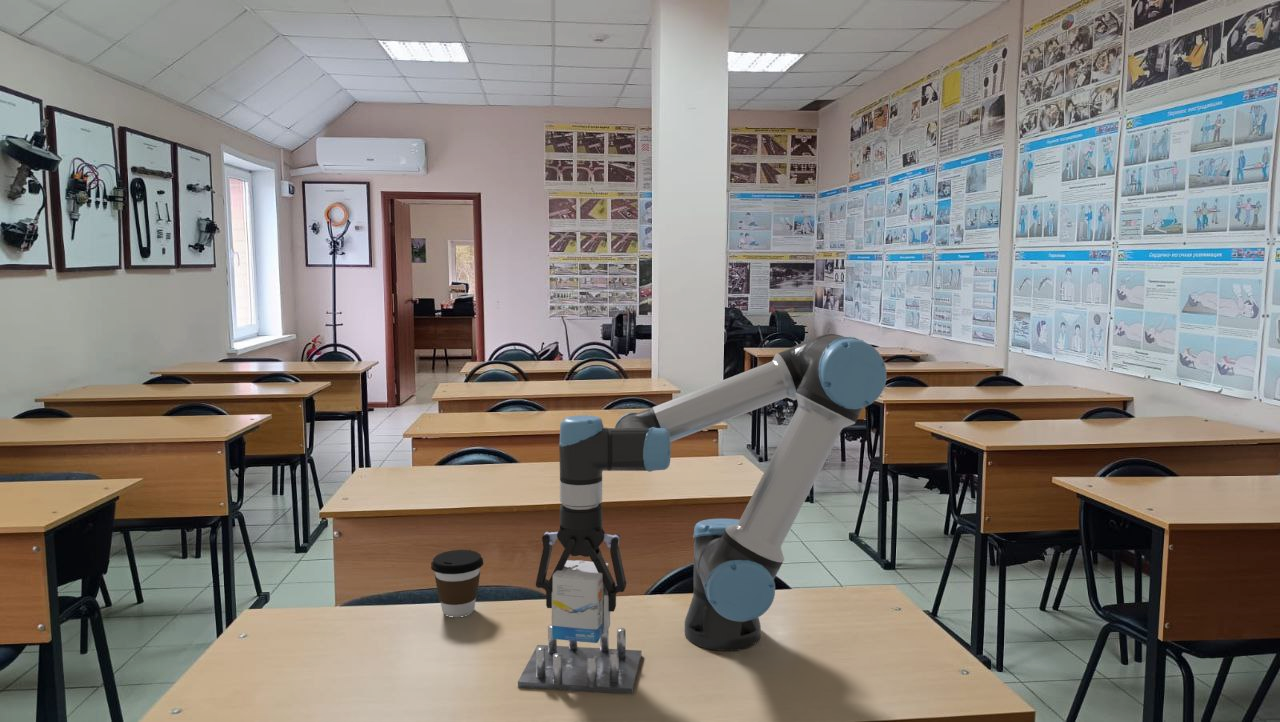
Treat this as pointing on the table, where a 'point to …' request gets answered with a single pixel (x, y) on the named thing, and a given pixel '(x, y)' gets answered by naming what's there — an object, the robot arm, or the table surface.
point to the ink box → (578, 602)
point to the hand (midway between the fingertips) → (581, 626)
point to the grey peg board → (583, 666)
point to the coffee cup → (457, 580)
